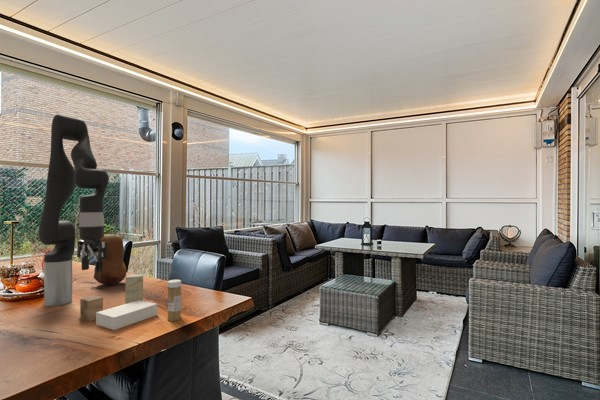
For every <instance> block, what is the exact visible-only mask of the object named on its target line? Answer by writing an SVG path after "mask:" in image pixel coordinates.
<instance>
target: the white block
mask: <svg viewBox="0 0 600 400" xmlns="http://www.w3.org/2000/svg"><path fill="white" fill-rule="evenodd" d="M156 316H158V303H154V302H151V301H145V300H143V301H142V300H138V301H134V302H131V303H127V304H125V303H123V304H121V305H118V306H113V307H110V308H107V309H103V311H99V312H96V319H95V325H97V326H99V327H102V328H106V329H110V330H113V331H115V330H119V329H121V328H124V327H127V326H130V325H133V324H135V323H139V322H141V321H144V320H147V319H149V318H152V317H156Z"/></svg>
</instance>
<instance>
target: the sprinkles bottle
mask: <svg viewBox="0 0 600 400" xmlns="http://www.w3.org/2000/svg"><path fill="white" fill-rule="evenodd" d="M166 283H167V285H166V287H167V318H166V320H167V321H170V322H176V321H179V320H182V316H181V314H182V313H181V309H182V291H181V290H182V280H181V279H170V280H168V281H167V282H166Z"/></svg>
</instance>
